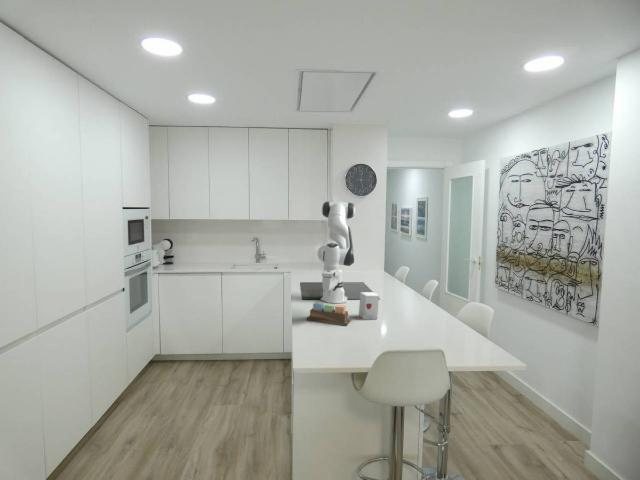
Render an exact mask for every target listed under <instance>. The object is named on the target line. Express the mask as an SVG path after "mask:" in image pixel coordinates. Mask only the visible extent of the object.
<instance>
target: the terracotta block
mask: <svg viewBox="0 0 640 480" xmlns="http://www.w3.org/2000/svg"><path fill="white" fill-rule="evenodd" d="M346 307H347V305H343V304H335V313H339V314H344V313H345V311H347V310H346Z"/></svg>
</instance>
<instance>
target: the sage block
mask: <svg viewBox="0 0 640 480" xmlns="http://www.w3.org/2000/svg"><path fill="white" fill-rule="evenodd" d="M335 306H336V303H328V302H325V303H324V312H332V313H333V312H334V310H335Z"/></svg>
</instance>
